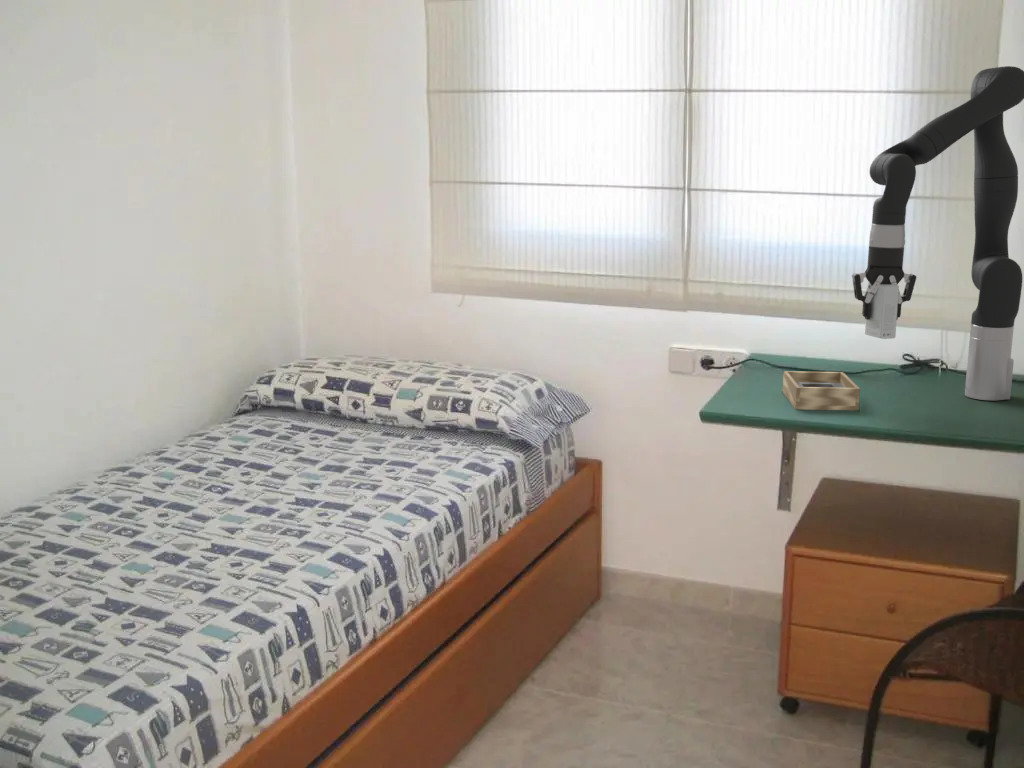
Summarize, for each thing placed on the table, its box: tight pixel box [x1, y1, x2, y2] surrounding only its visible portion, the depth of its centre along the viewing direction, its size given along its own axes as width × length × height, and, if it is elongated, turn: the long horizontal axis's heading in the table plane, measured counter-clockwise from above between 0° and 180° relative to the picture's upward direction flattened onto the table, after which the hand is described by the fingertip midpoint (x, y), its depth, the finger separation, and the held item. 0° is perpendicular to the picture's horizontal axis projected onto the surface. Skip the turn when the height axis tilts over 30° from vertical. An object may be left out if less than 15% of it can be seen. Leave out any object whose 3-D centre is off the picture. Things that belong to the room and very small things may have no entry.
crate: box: [782, 370, 861, 411], centre depth 260 cm, size 14×18×5 cm
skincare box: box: [864, 282, 900, 340], centre depth 253 cm, size 6×4×12 cm
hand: (880, 319), depth 254 cm, fingers closed on skincare box, 5 cm apart
